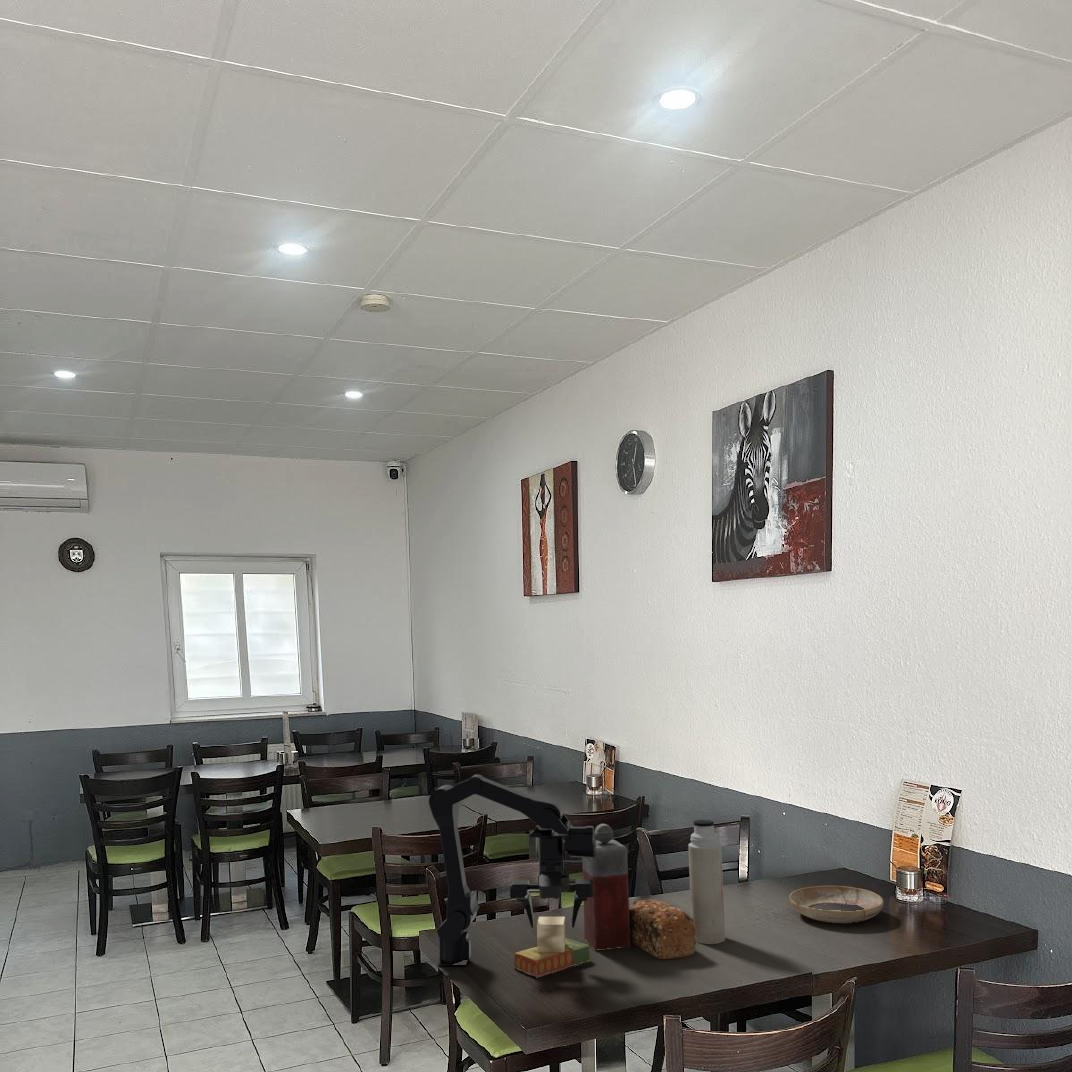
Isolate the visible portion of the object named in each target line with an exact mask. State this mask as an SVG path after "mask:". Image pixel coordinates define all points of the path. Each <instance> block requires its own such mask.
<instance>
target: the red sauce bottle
mask: <svg viewBox="0 0 1072 1072" xmlns="http://www.w3.org/2000/svg"><path fill="white" fill-rule="evenodd" d="M594 834H595V839H596V855H595V857H581V859H582V860H581V861H582V879H591V880H592V881H593V897H587V901H583V925H584V926H583V928H584V929H583V930H584V940H585V939H586V940H587V941H588V943H589V944H590V945H591V946H592V947H593V948H594V949H595V950H597V949H607V948H617V947H628V948H631V941H630V922H629V906H630V901H629V900H630V898H629V896H630V894H629V867H628V848H627V847H626V846H625V845H624V844H621V843H620V842H619V841H617V840H615V839H613V837H614V830H613V828H612V827H611V826H609V824H606V823H600V824H598V825H596V827H595V828H594ZM588 943H587V944H588ZM589 944H588V945H589ZM590 945H589V946H590ZM591 946H590V947H591ZM592 947H591V948H592ZM593 948H592V949H593ZM594 949H593V950H594Z"/></svg>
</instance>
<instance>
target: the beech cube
mask: <svg viewBox="0 0 1072 1072" xmlns="http://www.w3.org/2000/svg"><path fill="white" fill-rule="evenodd" d="M566 936H567V935H566V916H538V920H537V923H536V938H537V939H536V940H537V944H536V945H537V946H536V947H537V951H538V952H564V951H565V945H566V938H567V937H566Z"/></svg>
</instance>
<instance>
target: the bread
mask: <svg viewBox="0 0 1072 1072" xmlns="http://www.w3.org/2000/svg"><path fill="white" fill-rule="evenodd" d="M629 922H630V943H632V944H633V943H634V946H636V947H638V948H639V949H641V948H642V949H643V950H642V949H641V950H642V951H644V952H647V954H650V956H653V958H655V959H658V960H670V959H677V958H678V959H679V958H685V957H686V958H687V957H691V956H693V955H694V953H695V950H696V944H697V942H696V927H695V924H694V919H693V918H691V915H689V913H688V912H686V911H684V910H682V909H681V908H679V907H677V906H675V905H672V904H670V903H669V904H668V903H667V902H664V901H662V900H659V899H649V898H648V899H640V900H635V901H633V903H632V904H629Z"/></svg>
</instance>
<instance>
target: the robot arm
mask: <svg viewBox="0 0 1072 1072" xmlns="http://www.w3.org/2000/svg"><path fill="white" fill-rule="evenodd" d="M474 795H477V796H479V797H482V798H485V799H487V800H490V801H492V802H495V803H497V804H500V805H502V806H503V807H507V808H510V809H512V810H514V811H516V812H518V813H519V812H520V813H522V814H523V815H524V816H525V817H526V818H528V819H529V820H530V821H532V822H534V823H535V824H537V825H536V826H535V827H534V829H533V830H532V831H530V834H529V838H534V839H536V838H537V842H538V845H537V849H538V876H537V883H530V880H529V879H524V878H523V879H520V878H519V879H513V880H512V882H511V883H510V886H509V887H510V888H509V891H510V893H509V895H510V896H509V897H510V898H512V899H515V901H516V902H520V903H521V904H522V906H523V908H524V910H525V912H526V915H527V918H528V921H529V924H530V926H531V928H532V929H533V928H534V927H535V926H534V925H535V919H534V911H533V901H532V893H539V898H540V899H544V900H546V899H555V900H558V899H561V897H562V893H574V896H573V897H574V899H573V905H572V906H573V908H572V917H571V927H572V929H573V928H575V924H576V922H577V917H578V914H579V911H580V910H579V909H580V908H581V905H582V904H583V903H584V901H587V897H593V881H592V880H591V879H583V878H575V883H573V882H572V883H571V882H570V874H566V873H565V870H564V869H565V865H564V863H565V862H564V861H565V860H564V850H565V853H567V855H569V856H570V857H569V858H582V857H595V855H596V841H597V839H596V837H595V834H594V832H595V828H594V826H593V825H586V826H573V824H572V823H571V821H570V820H569V818H568V817H567V816H566V815H565V813H564V807H563V805H562V803H561V802H560V801H559V800H557V799H554V798H550V797H545V796H539V795H530V794H527V793H524V792H522V791H519V790H516V789H514V788H512V787H509V786H507V785H503V784H502V783H499V782H496V781H494V780H492V779H488V778H487V777H484V776H483V775H481V774H474V775H472V776H471V777H469V778H467V779H465V780H463V781H460V782H458V783H456V784H454V785H450V784H445V785H442V786H440V787H438V788H437V789H434V790H433V791H432V793H431V794H430V795H429V797H428V806H429V808H430V812H431V814H432V818H433V820H434V821H435V823H436V825H437V827H438V830H439V835H440V842H441V849H442V856H443V863H444V870H445V875H446V881H447V888H448V891H447V892H448V893H447V901H446V919H445V920H444V921H443V922H442V923H441V924H440V926H439V927H438V928H437V929H436V933H437V936H438V939H439V959H438V960H439V961H438V964H437V966H438V967H454V966H453V964H455V963H458V962H461V961H463V960H469V959H471V958H472V954H471V951H472V949H471V948H472V946H471V941H472V940H471V938H469V931H466V930H468V928H469V926H470V925H471V924H472V923H473V921H474V920H475V918H476V916H477V913H478V910H479V909H480V905H479V904H478V901H477V890H472V891H471V889H470V888H469V886H468V884H467V878H466V872H465V867H464V866H465V865H464V858H463V853H462V852H463V851H462V847H461V839H460V834H459V827H458V826H459V825H458V821H459V820H458V819H459V813H460V812H459V811H460V802H462V801H464V800H465V799H467V798H470V797H471V796H474ZM469 961H470V960H469Z"/></svg>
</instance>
